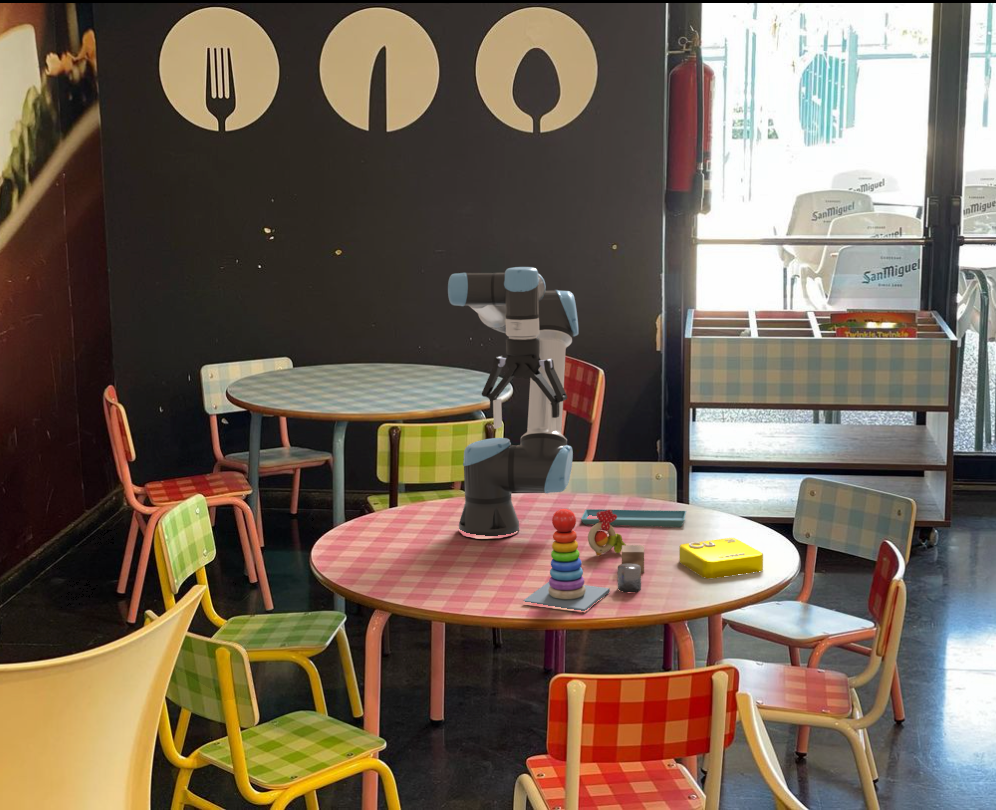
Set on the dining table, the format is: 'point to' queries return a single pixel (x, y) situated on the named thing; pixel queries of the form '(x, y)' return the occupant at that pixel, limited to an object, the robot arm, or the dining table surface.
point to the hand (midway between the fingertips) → (524, 429)
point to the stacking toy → (565, 559)
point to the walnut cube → (633, 555)
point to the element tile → (720, 558)
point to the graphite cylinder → (629, 577)
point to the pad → (577, 604)
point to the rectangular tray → (640, 517)
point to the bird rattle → (600, 537)
